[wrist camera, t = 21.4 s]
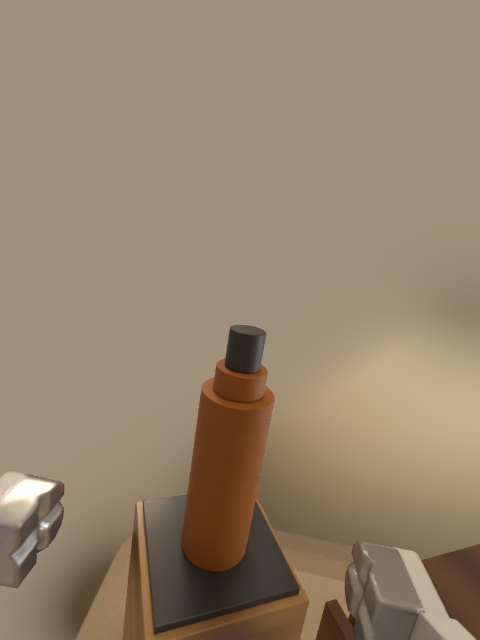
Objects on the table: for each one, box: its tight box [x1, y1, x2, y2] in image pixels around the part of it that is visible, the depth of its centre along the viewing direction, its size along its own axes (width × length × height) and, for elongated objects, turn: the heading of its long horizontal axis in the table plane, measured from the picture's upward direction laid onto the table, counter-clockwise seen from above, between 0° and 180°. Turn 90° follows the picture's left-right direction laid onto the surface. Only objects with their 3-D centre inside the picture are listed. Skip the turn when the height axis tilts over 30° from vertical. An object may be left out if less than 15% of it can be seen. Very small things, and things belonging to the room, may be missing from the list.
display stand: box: [123, 495, 309, 640], centre depth 25 cm, size 10×10×16 cm
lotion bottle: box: [181, 325, 274, 572], centre depth 21 cm, size 5×5×16 cm
